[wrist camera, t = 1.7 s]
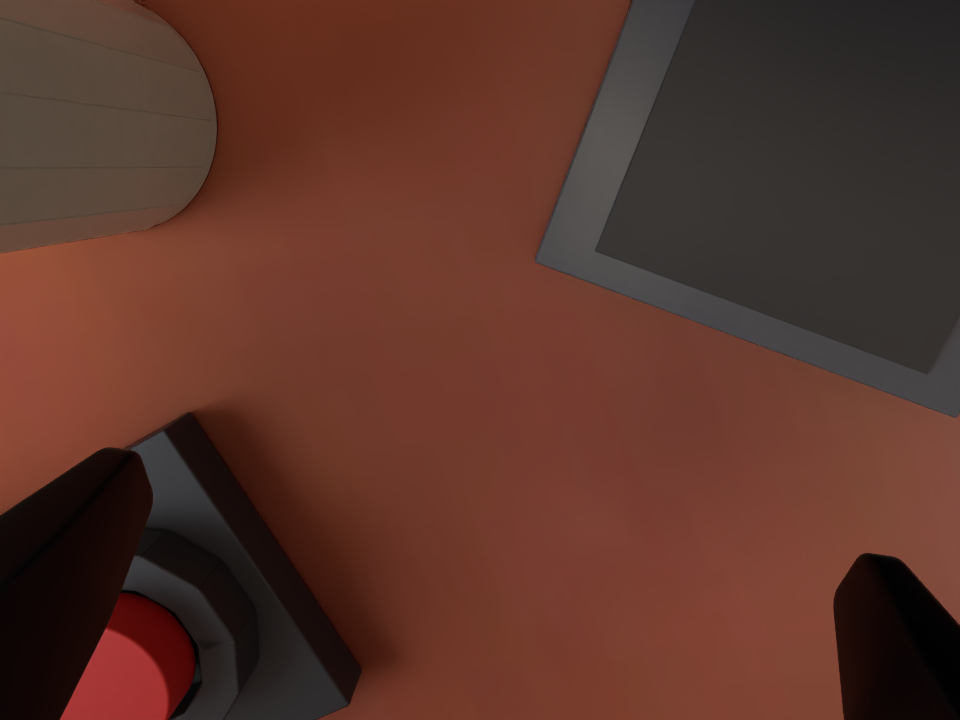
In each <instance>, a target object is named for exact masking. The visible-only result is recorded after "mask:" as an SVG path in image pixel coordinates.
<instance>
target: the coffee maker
mask: <svg viewBox="0 0 960 720" xmlns="http://www.w3.org/2000/svg"><path fill="white" fill-rule="evenodd" d="M535 262H536V263H538V264H541V265H544V266H546V267H549V268H552V269H554V270H557V271H560V272H562V273H565V274H568V275H571V276H573V277H576V278H579V279H581V280H584V281H587V282H589V283H592V284H595V285H598V286H600V287H603V288H606V289H608V290H611V291H614V292H616V293H619V294H622V295H625V296H627V297H630V298H633V299H635V300H638V301H641V302H643V303H646V304H649V305H652V306H654V307H657V308H660V309H662V310H665V311H668V312H670V313H673V314H676V315H679V316H681V317H684V318H687V319H689V320H692V321H695V322H697V323H700V324H703V325H706V326H708V327H711V328H714V329H716V330H719V331H722V332H724V333H727V334H730V335H733V336H735V337H738V338H741V339H743V340H746V341H749V342H751V343H754V344H757V345H760V346H762V347H765V348H768V349H770V350H773V351H776V352H778V353H781V354H784V355H787V356H789V357H792V358H795V359H797V360H800V361H803V362H805V363H808V364H811V365H814V366H816V367H819V368H822V369H824V370H827V371H830V372H832V373H835V374H838V375H841V376H843V377H846V378H849V379H851V380H854V381H857V382H859V383H862V384H865V385H868V386H870V387H873V388H876V389H878V390H881V391H884V392H886V393H889V394H892V395H895V396H897V397H900V398H903V399H905V400H908V401H911V402H913V403H916V404H919V405H922V406H924V407H927V408H930V409H932V410H935V411H938V412H940V413H943V414H946V415H949V416H951V417H954V418H957V417H958V415H959V413H960V0H632V2H631V5H630V7H629V10H628V13H627V15H626V18H625V20H624V23H623V26H622V28H621V31H620V34H619V36H618V39H617V42H616V44H615V47H614V50H613V52H612V55H611V58H610V60H609V63H608V65H607V68H606V71H605V73H604V76H603V79H602V81H601V84H600V87H599V89H598V92H597V95H596V97H595V100H594V103H593V105H592V108H591V110H590V113H589V116H588V118H587V121H586V124H585V126H584V129H583V132H582V134H581V137H580V140H579V142H578V145H577V148H576V150H575V153H574V156H573V158H572V161H571V163H570V166H569V169H568V171H567V174H566V177H565V179H564V182H563V185H562V187H561V190H560V193H559V195H558V198H557V201H556V203H555V206H554V208H553V211H552V214H551V216H550V219H549V222H548V224H547V227H546V230H545V232H544V235H543V238H542V240H541V243H540V246H539V248H538V251H537V253H536V256H535Z"/></svg>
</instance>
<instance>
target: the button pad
mask: <svg viewBox="0 0 960 720" xmlns="http://www.w3.org/2000/svg"><path fill="white" fill-rule="evenodd" d="M123 449H127V450H133V451H136V452H137V453H138V454H139V455H140V456H141V458H142V461H143V464H144V467H145V470H146V473H147V475H148V478H149V481H150V484H151V487H152V490H153V505H152V509H151V512H150V515H149V518H148V520H147V523H146V526H145V528H144V531H143V534H142V536H141V539H140V542H139V545H138V547H137V550H136V553H135V555H134V558H133V561H132V563H131V566H130V569H129V571H128V574H127V577H126V579H125V582H124V585H123V587H122V590H121V592H124V593H131V594H135V595H139V596H142V597H145V598H147V599H149V600H151V601H153V602H156V603H157V604H159V605H160V606H162V607H163V608H165V609H166V610H167V611H169V612H170V613H171V614H172V615H173V616H174V617H175V618H176V619H177V620H178V621H179V622H180V624H181V625H182V626H183V628H184V629H185V631H186V632H187V634H188V636H189V638H190V640H191V642H192V646H193V649H194V653H195V665H196V666H195V675H194V678H193V682H192V684H191V686H190V688H189V690H188V691H187V693H186V694H185V696H184V697H183V699H182V700H181V702H180V703H179V705H178V706H177V708H176V709H175V710H174V712H173V713H172V715H171V716H170V718H169V719H168V720H316V719H319V718H321V717H323V716H326V715H328V714H330V713H333V712H335V711H337V710H339V709H342V708H344V707H346V706H348V705H349V704H350V702H351V699H352V696H353V694H354V691H355V688H356V685H357V683H358V680H359V677H360V674H361V669H360V667H359V666H358V664H357V663H356V661H355V660H354V658H353V657H352V655H351V654H350V652H349V651H348V649H347V648H346V646H345V645H344V643H343V642H342V640H341V639H340V637H339V636H338V634H337V633H336V631H335V630H334V628H333V627H332V625H331V624H330V622H329V621H328V619H327V618H326V616H325V615H324V613H323V612H322V610H321V609H320V607H319V606H318V604H317V602H316V601H315V599H314V598H313V596H312V595H311V593H310V592H309V590H308V589H307V587H306V586H305V584H304V583H303V581H302V580H301V578H300V577H299V575H298V574H297V572H296V571H295V569H294V568H293V566H292V565H291V563H290V562H289V560H288V559H287V557H286V556H285V554H284V553H283V551H282V550H281V548H280V547H279V545H278V544H277V542H276V541H275V539H274V538H273V536H272V535H271V533H270V532H269V530H268V529H267V527H266V526H265V524H264V523H263V521H262V520H261V518H260V516H259V515H258V513H257V512H256V510H255V509H254V507H253V506H252V504H251V503H250V501H249V500H248V498H247V497H246V495H245V494H244V492H243V491H242V489H241V488H240V486H239V485H238V483H237V482H236V480H235V479H234V477H233V476H232V474H231V473H230V471H229V470H228V468H227V467H226V465H225V464H224V462H223V461H222V459H221V458H220V456H219V455H218V453H217V452H216V450H215V449H214V447H213V446H212V444H211V443H210V441H209V440H208V438H207V437H206V435H205V434H204V432H203V430H202V429H201V427H200V426H199V424H198V423H197V421H196V420H195V418H194V417H193V415H192V414H191V413H186V414H184V415H183V416H181V417H179V418H177V419H175V420H174V421H172V422H170V423H168V424H167V425H165V426H163V427H161V428H159V429H158V430H156V431H154V432H152V433H150V434H149V435H147V436H145V437H143V438H141V439H140V440H138V441H136V442H134V443H132V444H131V445H129V446H127V447H125V448H123Z"/></svg>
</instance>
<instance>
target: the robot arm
mask: <svg viewBox="0 0 960 720" xmlns="http://www.w3.org/2000/svg"><path fill="white" fill-rule="evenodd" d="M152 505H153V490H152V487H151V484H150V481H149V478H148V475H147V473H146V470H145V467H144V464H143V461H142V458H141V456H140V455H139V454H138V453H137V452H136V451H133V450H127V449H120V448H112V447H107V448H103V449H101V450H99V451H97V452H95V453H94V454H92V455H91V456H89V457H88V458H86V459H85V460H83V461H82V462H80V463H79V464H77V465H76V466H74V467H73V468H71V469H70V470H68V471H67V472H65V473H64V474H62V475H61V476H59V477H58V478H56V479H55V480H53V481H52V482H50V483H49V484H47V485H46V486H44V487H43V488H41V489H40V490H38V491H37V492H35V493H34V494H32V495H31V496H29V497H27V498H26V499H24V500H23V501H21V502H20V503H18V504H17V505H15V506H14V507H12V508H11V509H9V510H8V511H6V512H5V513H3V514H2V515H0V720H60V719H61V717H62V715H63V713H64V711H65V709H66V707H67V705H68V703H69V701H70V699H71V697H72V695H73V693H74V691H75V689H76V687H77V685H78V683H79V681H80V679H81V677H82V675H83V673H84V671H85V669H86V667H87V665H88V663H89V661H90V659H91V657H92V655H93V653H94V651H95V649H96V647H97V645H98V643H99V641H100V639H101V637H102V635H103V633H104V631H105V629H106V627H107V624H108V622H109V620H110V618H111V616H112V613H113V611H114V608H115V606H116V603H117V601H118V598H119V595H120V593H121V590H122V587H123V585H124V582H125V579H126V577H127V574H128V571H129V569H130V566H131V563H132V561H133V558H134V555H135V553H136V550H137V547H138V545H139V542H140V539H141V536H142V534H143V531H144V528H145V526H146V523H147V520H148V518H149V515H150V512H151V509H152ZM833 608H834V620H835V630H836V641H837V651H838V662H839V672H840V683H841V694H842V704H843V714H844V720H960V625H959V624H958V623H957V622H956V620H955V619H954V618H953V617H952V616H951V615H950V614H949V613H948V611H947V610H946V609H945V608H944V607H943V606H942V605H941V604H940V602H939V601H938V600H937V599H936V598H935V597H934V596H933V595H932V593H931V592H930V591H929V590H928V589H927V588H926V587H925V586H924V584H923V583H922V582H921V581H920V580H919V579H918V578H917V577H916V575H915V574H914V573H913V572H912V571H911V570H910V569H909V568H908V566H907V565H906V564H905V563H904V562H902V561H901V560H900V559H898V558H896V557H892V556H886V555H879V554H871V553H864V554H862V555H860V556H859V557H858V558H857V559H856V561H855V562H854V564H853V565H852V567H851V568H850V570H849V571H848V573H847V574H846V576H845V577H844V579H843V580H842V582H841V583H840V585H839V586H838V588H837V590H836V593H835V596H834V605H833Z"/></svg>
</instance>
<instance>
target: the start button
mask: <svg viewBox="0 0 960 720" xmlns="http://www.w3.org/2000/svg"><path fill="white" fill-rule="evenodd" d="M195 666H196V665H195V653H194V649H193V646H192V642H191V640H190V638H189V636H188V634H187V632H186V631H185V629H184V628H183V626H182V625H181V624H180V622H179V621H178V620H177V619H176V618H175V617H174V616H173V615H172V614H171V613H170V612H169V611H167V610H166V609H165V608H163V607H162V606H160V605H159V604H157V603H156V602H153V601H151V600H149V599H147V598H145V597H142V596H139V595H135V594H131V593H124V592H121V593H120V595H119V598H118V601H117V603H116V606H115V608H114V611H113V613H112V616H111V618H110V620H109V622H108V624H107V627H106V629H105V631H104V633H103V635H102V637H101V639H100V641H99V643H98V645H97V647H96V649H95V651H94V653H93V655H92V657H91V659H90V661H89V663H88V665H87V667H86V669H85V671H84V673H83V675H82V677H81V679H80V681H79V683H78V685H77V687H76V689H75V691H74V693H73V695H72V697H71V699H70V701H69V703H68V705H67V707H66V709H65V711H64V713H63V715H62V717H61V719H60V720H168V719H169V718H170V716H171V715H172V713H173V712H174V710H175V709H176V708H177V706H178V705H179V703H180V702H181V700H182V699H183V697H184V696H185V694H186V693H187V691H188V690H189V688H190V686H191V684H192V682H193V678H194V675H195Z"/></svg>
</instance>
